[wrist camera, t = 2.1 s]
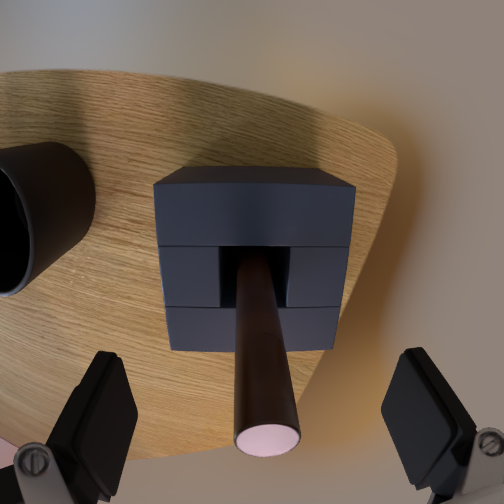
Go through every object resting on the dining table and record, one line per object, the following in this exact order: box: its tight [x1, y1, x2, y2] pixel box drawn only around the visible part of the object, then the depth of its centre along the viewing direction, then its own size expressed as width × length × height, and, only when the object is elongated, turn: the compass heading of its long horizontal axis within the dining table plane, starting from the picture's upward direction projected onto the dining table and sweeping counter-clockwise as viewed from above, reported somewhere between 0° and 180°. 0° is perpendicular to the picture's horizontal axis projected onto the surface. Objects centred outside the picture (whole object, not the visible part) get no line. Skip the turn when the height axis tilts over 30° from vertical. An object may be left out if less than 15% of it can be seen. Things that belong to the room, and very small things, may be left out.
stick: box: [234, 246, 301, 457], centre depth 16 cm, size 2×2×18 cm
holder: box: [153, 166, 356, 352], centre depth 20 cm, size 10×10×8 cm
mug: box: [0, 142, 95, 296], centre depth 18 cm, size 9×12×9 cm
